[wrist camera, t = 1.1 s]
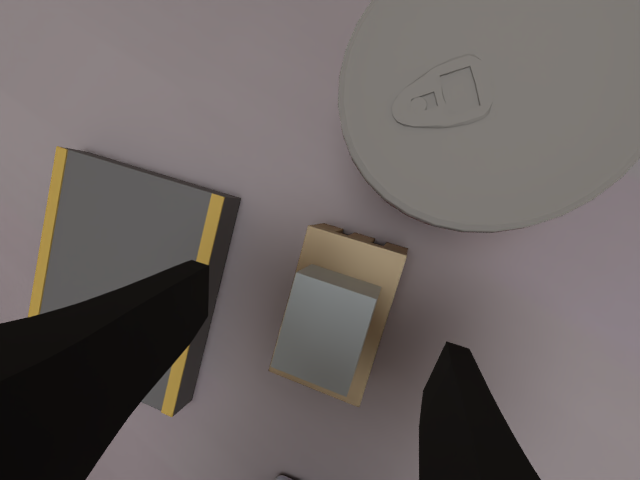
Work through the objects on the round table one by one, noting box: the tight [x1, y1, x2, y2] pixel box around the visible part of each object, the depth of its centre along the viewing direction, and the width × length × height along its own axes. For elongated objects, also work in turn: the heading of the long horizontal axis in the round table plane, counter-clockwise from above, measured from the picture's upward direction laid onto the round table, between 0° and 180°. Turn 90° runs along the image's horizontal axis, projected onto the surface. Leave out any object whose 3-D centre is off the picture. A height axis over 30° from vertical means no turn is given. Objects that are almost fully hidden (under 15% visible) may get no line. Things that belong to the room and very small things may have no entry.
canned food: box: [338, 0, 640, 233], centre depth 14 cm, size 8×8×11 cm
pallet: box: [269, 223, 408, 407], centre depth 20 cm, size 8×5×4 cm, turn 164°
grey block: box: [271, 264, 381, 397], centre depth 17 cm, size 4×4×3 cm
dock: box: [28, 146, 241, 417], centre depth 24 cm, size 14×12×2 cm
